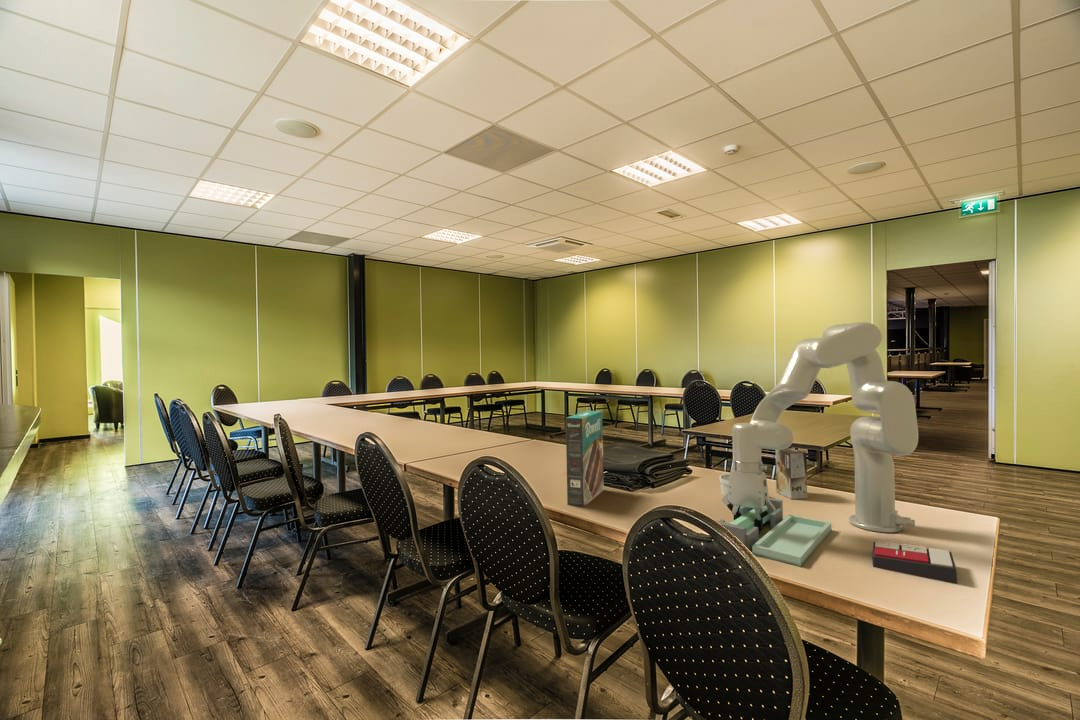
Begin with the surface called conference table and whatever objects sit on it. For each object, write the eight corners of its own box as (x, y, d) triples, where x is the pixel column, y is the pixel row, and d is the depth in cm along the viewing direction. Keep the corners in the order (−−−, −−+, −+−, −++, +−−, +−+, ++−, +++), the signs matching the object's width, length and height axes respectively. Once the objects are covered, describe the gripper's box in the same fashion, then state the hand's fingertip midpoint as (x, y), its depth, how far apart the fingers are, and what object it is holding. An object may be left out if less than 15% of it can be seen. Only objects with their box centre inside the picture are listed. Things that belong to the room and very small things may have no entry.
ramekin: (764, 496, 169) (764, 476, 169) (753, 505, 159) (753, 485, 159) (727, 490, 177) (726, 471, 177) (713, 498, 167) (713, 479, 167)
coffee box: (808, 498, 165) (807, 452, 165) (791, 499, 164) (790, 453, 164) (791, 491, 174) (790, 447, 174) (775, 492, 173) (774, 448, 173)
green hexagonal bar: (732, 522, 126) (770, 500, 143) (713, 526, 130) (752, 504, 147) (741, 545, 124) (779, 520, 141) (722, 548, 128) (760, 523, 145)
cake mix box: (583, 506, 161) (582, 418, 161) (567, 504, 164) (565, 417, 163) (603, 489, 181) (602, 411, 181) (588, 488, 183) (587, 410, 183)
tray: (831, 530, 135) (831, 522, 135) (800, 566, 112) (800, 557, 112) (789, 521, 143) (789, 514, 143) (752, 554, 120) (752, 545, 120)
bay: (784, 520, 144) (784, 500, 144) (745, 553, 121) (745, 529, 121) (750, 513, 151) (750, 494, 151) (707, 543, 128) (707, 521, 127)
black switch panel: (873, 538, 121) (951, 548, 112) (874, 555, 120) (952, 566, 112) (871, 552, 112) (955, 565, 103) (873, 571, 112) (957, 585, 103)
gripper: (783, 468, 133) (784, 533, 133) (722, 460, 144) (723, 520, 144) (774, 473, 127) (775, 541, 127) (712, 464, 139) (713, 526, 139)
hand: (748, 529), depth 136 cm, fingers closed on green hexagonal bar, 4 cm apart
